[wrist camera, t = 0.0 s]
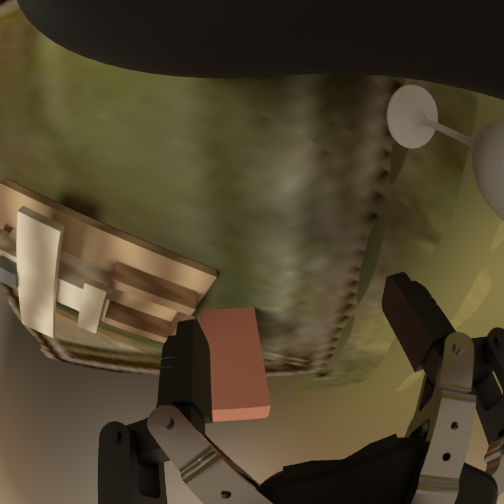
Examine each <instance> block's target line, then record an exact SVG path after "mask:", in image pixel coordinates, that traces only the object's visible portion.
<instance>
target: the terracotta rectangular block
mask: <svg viewBox="0 0 504 504" xmlns="http://www.w3.org/2000/svg"><path fill="white" fill-rule="evenodd" d="M200 326H201V328H202V330H203V332H204V334H205V336H206V338H207V341H208V344H209V348H210V363H211V394H212V416H213V421H231V420H244V419H256V418H266V417H268V414H269V410H270V407H271V404H270V397H269V392H268V387H267V380H266V374H265V368H264V363H263V357H262V351H261V345H260V339H259V333H258V327H257V321H256V315H255V309H254V307H242V308H222V309H201V314H200Z"/></svg>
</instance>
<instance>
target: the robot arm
mask: <svg viewBox="0 0 504 504" xmlns="http://www.w3.org/2000/svg"><path fill="white" fill-rule="evenodd" d="M17 2H18V4H19V6H20V9H21V10H22V12H23V13H24V15H25V16H26V18H27V19H28V20H29V21H30V22H31V23H32V24H33V25H34V26H35V27H36V28H37V29H38V30H39V31H40V32H41V33H43V34H44V35H45V36H47V37H48V38H49V39H51V40H52V41H53V42H55V43H57V44H59V45H60V46H62V47H64V48H66V49H68V50H70V51H72V52H74V53H77V54H79V55H81V56H84V57H86V58H89V59H92V60H96V61H99V62H102V63H105V64H108V65H113V66H117V67H121V68H125V69H129V70H135V71H141V72H146V73H152V74H161V75H170V76H181V77H197V78H239V77H268V76H281V75H300V74H368V75H383V76H393V77H402V78H410V79H417V80H423V81H429V82H434V83H440V84H445V85H450V86H454V87H458V88H463V89H467V90H471V91H475V92H479V93H482V94H486V95H489V96H493V97H496V98H499V99H502V100H504V0H17ZM382 309H383V312H384V314H385V316H386V318H387V320H388V321H389V323H390V325H391V327H392V329H393V331H394V332H395V334H396V336H397V338H398V340H399V342H400V344H401V346H402V347H403V350H404V352H405V353H406V355H407V357H408V359H409V361H410V363H411V365H412V367H413V369H414V372H417V371H419V370H422V369H424V371H425V375H424V378H423V383H422V387H421V391H420V396H419V399H418V404H417V407H416V411H415V414H414V417H413V419H412V420H411V422H410V424H409V426H408V429H407V431H406V434H405V437H399V438H397V436H396V434H393V435H391V436H389V437H386V438H383V439H381V440H378V441H376V442H373V443H370V444H369V445H367V446H365V447H364V448H362V449H361V450H359V451H357V452H356V453H354V454H352V455H351V456H349V457H347V458H345V459H342V460H320V461H309V462H304V463H300V464H295V465H289V466H284V467H283V471H280V472H278V473H276V474H274V475H272V476H271V477H269V478H268V479H267V480H265V481H264V482H263V483H262V484H261V485H260V484H259V483H258V482H257V481H256V480H254V479H253V478H252V477H251V476H250V475H249V474H247V473H246V472H245V471H244V470H243V469H242V468H240V467H239V466H238V465H237V464H236V463H234V462H233V461H232V460H231V459H230V458H229V457H228V456H227V455H226V454H225V453H224V452H223V451H222V450H221V449H220V448H219V447H218V446H217V445H216V444H215V443H214V442H213V441H212V440H211V439H210V438H209V437H208V436H207V435H206V434H205V423H213V416H212V394H211V363H210V348H209V344H208V341H207V338H206V336H205V334H204V332H203V330H202V328H201V326H200V324H199V322H198V320H197V319H190V320H184V321H178V323H177V329H176V335H171V336H168V338H167V340H166V342H165V343H164V345H163V349H162V360H161V369H160V378H159V389H158V402H157V406H156V408H155V409H154V410H153V411H152V412H151V413H150V415H149V417H148V418H146V419H144V420H141V421H138V422H135V423H132V424H129V425H126V426H125V425H124V424H122V423H120V422H116V421H114V422H109V423H108V424H106V425H105V426H104V427H103V428H102V430H101V432H100V436H99V452H98V453H99V454H98V504H167V496H166V486H165V474H164V462H166V461H169V460H171V461H172V462H173V463H174V464H175V466H176V467H177V468H178V469H179V471H180V472H181V474H182V475H181V477H182V479H183V481H184V482H185V484H186V485H187V486H188V487H189V488H190V490H191V491H192V492H193V493H194V494H195V495H196V496H197V497H198V498H199V499H200V500H201V501H202V502H203V503H204V504H496V502H497V498H498V496H499V495H500V494H501V493H503V492H504V329H502V328H498V327H497V328H493V329H492V330H491V331H490V332H489V334H488V335H487V337H479V338H470V337H469V336H468V335H466V334H464V333H462V332H456V331H455V329H454V328H453V326H452V325H451V323H450V322H449V320H448V319H447V317H446V316H445V314H444V313H443V312H442V310H441V309H440V307H439V306H438V305H437V304H436V302H435V300H434V299H433V298H432V297H431V295H430V294H429V292H428V290H427V289H426V288H425V287H424V286H423V285H421V284H420V283H418V282H417V281H413V282H412V281H411V280H410V278H409V277H408V276H407V274H406V273H404V272H401V273H397V274H394V275H390V276H388V277H387V278H386V283H385V288H384V293H383V298H382ZM493 371H494V372H495V374H496V376H497V379H498V381H499V383H500V385H501V387H502V390H503V395H502V393H501V390H500V388H499V386H498V384H497V382H496V379H495V378H494V375H493V373H492V372H493ZM475 408H476V410H477V413H478V415H479V418H480V421H481V424H482V426H483V429H484V432H485V435H486V438H487V441H488V444H489V447H488V450H487V453H486V454H485V456H484V461H485V463H487V468H486V471H485V472H484V471H482V470H480V469H478V468H476V467H473V466H471V465H469V464H467V463H465V462H464V460H465V456H466V452H467V449H468V444H469V440H470V435H471V431H472V425H473V419H474V414H475Z"/></svg>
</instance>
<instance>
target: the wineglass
mask: <svg viewBox="0 0 504 504" xmlns="http://www.w3.org/2000/svg"><path fill="white" fill-rule="evenodd" d="M386 118H387V125H388V129H389V131H390V133H391V135H392V137H393V138H394V139H395V141H397V142H398V143H399V144H400V145H402V146H404V147H406V148H412V149H414V148H419V147H421V146H423V145H425V144H426V143H427V142H428V141H429V140H430V139H431V138H432V136H433V135H434V132H435V130H438V131H440V132H442V133H444V134H446V135H448V136H450V137H452V138H454V139H456V140H458V141H460V142H462V143H464V144H465V145H467V146H468V147H469V148H470V149H471V151H472V159H473V169H474V173H475V177H476V181H477V184H478V187H479V190H480V192H481V193H482V195H483V197H484V199H485V201H486V202H487V204H488V205H489V206H490V208H491V209H492V210H493V211H494V212H495V213H496V214H497V215H498V216H499V217H500V218H501V219H502V220H503V221H504V118H500V119H498V120H496V121H494V122H492V123H490V124H489V125H487V126H486V127H485V128H484V129H483V130H482V131H481V132H480V133H479V134H478V135H477V137H476V138H471V137H467V136H465V135H463V134H461V133H459V132H457V131H454V130H452V129H450V128H448V127H446V126H443V125H441V124H439V123H438V112H437V107H436V104H435V101H434V99H433V98H432V96H431V94H430V93H429V92H428V91H427V90H425V89H424V88H422V87H420V86H417V85H405V86H402V87H400V88H399V89H398V90H396V91H395V92H394V94H393V95H392V96H391V98H390V101H389V103H388V107H387V112H386Z"/></svg>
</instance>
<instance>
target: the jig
mask: <svg viewBox="0 0 504 504" xmlns="http://www.w3.org/2000/svg"><path fill="white" fill-rule="evenodd" d="M216 278H217V270H215V269H213V268H210V267H207V266H205V265H202V264H200V263H197V262H195V261H192V260H190V259H187V258H185V257H182V256H180V255H177V254H175V253H173V252H170V251H168V250H165V249H163V248H160V247H158V246H156V245H153V244H151V243H148V242H146V241H143V240H141V239H139V238H136V237H134V236H132V235H129V234H127V233H125V232H122V231H120V230H118V229H115V228H113V227H111V226H108V225H106V224H104V223H101V222H99V221H97V220H95V219H92V218H90V217H88V216H85V215H83V214H81V213H79V212H76V211H74V210H72V209H70V208H68V207H65V206H63V205H61V204H59V203H57V202H54V201H52V200H50V199H48V198H46V197H44V196H41V195H39V194H37V193H35V192H33V191H31V190H29V189H27V188H25V187H22V186H20V185H18V184H16V183H14V182H12V181H10V180H8V179H4V180H3V181H2V182H1V183H0V281H1V282H3V283H5V284H7V285H8V286H10V287H12V288H14V289H16V288H17V287H18V291H19V301H20V310H21V317H22V323H23V324H25V325H27V326H29V327H31V328H33V329H35V330H37V331H39V332H41V333H43V334H45V335H47V336H50V337H52V338H53V337H54V335H55V317H56V301H57V302H59V303H61V304H64V305H66V306H68V307H70V308H73V309H75V310H77V311H80V312H79V319H78V327H80V328H82V329H85V330H87V331H90V332H93V333H95V334H96V331H97V327H98V323H99V321H102V322H104V323H107V324H110V325H112V326H115V327H118V328H121V329H123V330H126V331H129V332H132V333H135V334H138V335H141V336H144V337H147V338H150V339H153V340H156V341H159V342H163V343H165V342H166V340H167V338H168V336H171V335H176V329H177V323H178V321H184V320H190V319H195V318H196V307H197V305H198V304H199V302H200V301H201V299H202V298H203V297H204V295H205V294H206V292H207V291H208V289H209V288H210V286H211V285H212V284H213V282H214V281H215V279H216Z"/></svg>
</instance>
